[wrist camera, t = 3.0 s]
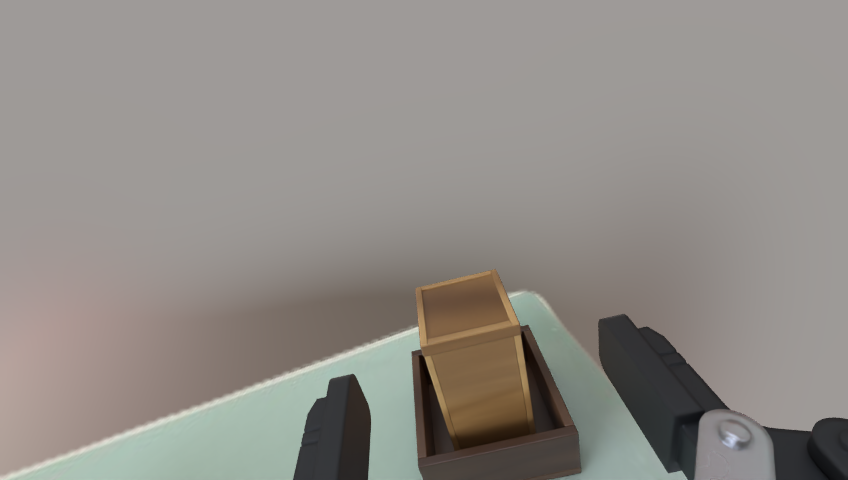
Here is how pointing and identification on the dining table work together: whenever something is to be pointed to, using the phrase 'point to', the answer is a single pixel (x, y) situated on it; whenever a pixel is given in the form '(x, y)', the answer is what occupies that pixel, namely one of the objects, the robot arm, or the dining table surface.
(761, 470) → the robot arm
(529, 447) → the wide basket
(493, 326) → the tall wooden box
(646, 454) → the dining table surface
